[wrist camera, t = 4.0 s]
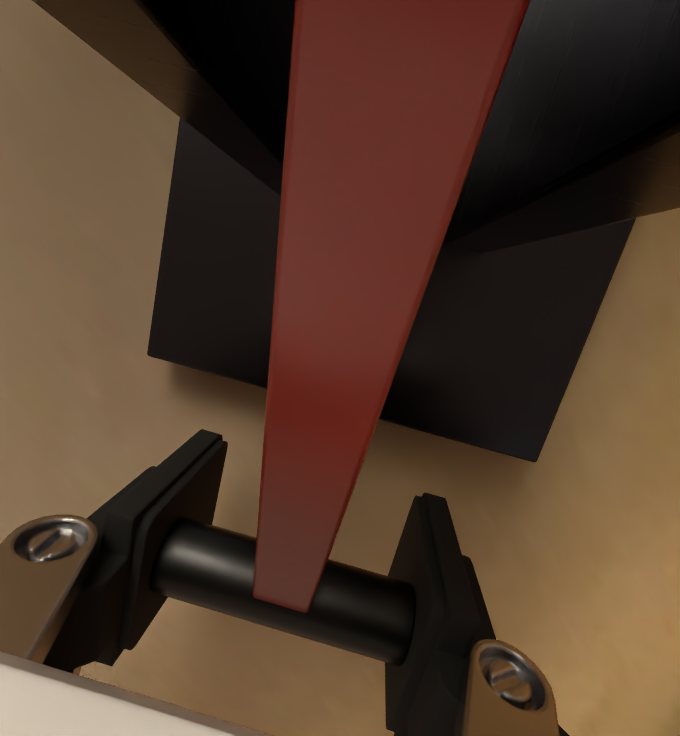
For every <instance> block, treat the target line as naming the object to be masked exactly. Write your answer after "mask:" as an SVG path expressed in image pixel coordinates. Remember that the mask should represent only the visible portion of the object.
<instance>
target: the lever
mask: <svg viewBox="0 0 680 736" xmlns="http://www.w3.org/2000/svg"><path fill="white" fill-rule="evenodd" d="M530 1H531V0H295V6H294V20H293V34H292V48H291V62H290V76H289V91H288V105H287V119H286V133H285V147H284V161H283V175H282V189H281V203H280V217H279V231H278V245H277V259H276V273H275V287H274V301H273V315H272V329H271V343H270V357H269V372H268V386H267V400H266V414H265V428H264V442H263V456H262V470H261V484H260V498H259V512H258V526H257V538H254V537H251V536H248V535H244V534H241V533H237V532H234V531H231V530H227V529H224V528H220V527H217V526H213V525H210V524H207V523H203V522H200V521H196V520H193V519H190V518H186V517H183V518H180V519H179V520H178V521H177V522H176V523H175V524H174V525H173V526H172V528H171V529H170V531H169V532H168V534H167V535H166V537H165V539H164V541H163V543H162V545H161V547H160V549H159V551H158V554H157V556H156V559H155V562H154V565H153V568H152V572H151V576H150V589H151V591H152V592H154V593H157V594H161V595H164V596H167V597H171V598H174V599H177V600H180V601H184V602H187V603H190V604H194V605H197V606H200V607H204V608H207V609H210V610H214V611H217V612H220V613H224V614H227V615H230V616H234V617H237V618H240V619H243V620H247V621H250V622H253V623H257V624H260V625H263V626H267V627H270V628H273V629H277V630H280V631H283V632H287V633H290V634H293V635H297V636H300V637H303V638H306V639H310V640H313V641H316V642H320V643H323V644H326V645H330V646H333V647H336V648H340V649H343V650H346V651H350V652H353V653H356V654H360V655H363V656H366V657H369V658H373V659H376V660H379V661H383V662H386V663H389V664H393V665H396V666H401V665H402V664H403V663H404V661H405V659H406V657H407V655H408V652H409V649H410V645H411V641H412V636H413V630H414V624H415V613H416V596H415V589H414V586H413V585H412V584H411V583H408V582H405V581H401V580H398V579H395V578H391V577H388V576H384V575H381V574H378V573H374V572H371V571H367V570H364V569H360V568H357V567H354V566H350V565H347V564H343V563H340V562H337V561H333V560H330V559H328V557H329V555H330V552H331V549H332V546H333V544H334V541H335V538H336V535H337V533H338V530H339V527H340V524H341V522H342V519H343V516H344V513H345V511H346V508H347V505H348V502H349V500H350V497H351V494H352V491H353V488H354V486H355V483H356V480H357V477H358V475H359V472H360V469H361V466H362V464H363V461H364V458H365V455H366V453H367V450H368V447H369V444H370V442H371V439H372V436H373V433H374V431H375V428H376V425H377V422H378V420H379V417H380V414H381V411H382V409H383V406H384V403H385V400H386V398H387V395H388V392H389V389H390V387H391V384H392V381H393V378H394V375H395V373H396V370H397V367H398V364H399V362H400V359H401V356H402V353H403V351H404V348H405V345H406V342H407V340H408V337H409V334H410V331H411V329H412V326H413V323H414V320H415V318H416V315H417V312H418V309H419V307H420V304H421V301H422V298H423V296H424V293H425V290H426V287H427V285H428V282H429V279H430V276H431V274H432V271H433V268H434V265H435V262H436V260H437V257H438V254H439V251H440V249H441V246H442V243H443V240H444V238H445V235H446V232H447V229H448V227H449V224H450V221H451V218H452V216H453V213H454V210H455V207H456V205H457V202H458V199H459V196H460V194H461V191H462V188H463V185H464V183H465V180H466V177H467V174H468V172H469V169H470V166H471V163H472V161H473V158H474V155H475V152H476V149H477V147H478V144H479V141H480V138H481V136H482V133H483V130H484V127H485V125H486V122H487V119H488V116H489V114H490V111H491V108H492V105H493V103H494V100H495V97H496V94H497V92H498V89H499V86H500V83H501V81H502V78H503V75H504V72H505V70H506V67H507V64H508V61H509V59H510V56H511V53H512V50H513V48H514V45H515V42H516V39H517V36H518V34H519V31H520V28H521V25H522V23H523V20H524V17H525V14H526V12H527V9H528V6H529V3H530Z"/></svg>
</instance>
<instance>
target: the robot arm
mask: <svg viewBox="0 0 680 736" xmlns="http://www.w3.org/2000/svg"><path fill="white" fill-rule="evenodd" d="M222 440H223V439H222V435H220V434H217V433H213V432H210V431H206V430H202V429H201V430H200V431H199V432H197V433H196V434H195V435H194V436H193V437H191V438H190V439H189V440H188V441H187V442H186V443H184V444H183V445H182V446H181V447H180V448H178V449H177V450H176V451H175V452H174V453H173V454H171V455H170V456H169V457H168V458H167V459H165V460H164V461H163V462H162V463H161V464H159V465H158V466H157V467H155V466H153V467H150V468H148V469H147V470H145V471H144V472H143V473H142V474H140V475H139V476H138V477H137V478H136V479H134V480H133V481H132V482H131V483H130V484H128V485H127V486H126V487H125V488H123V489H122V490H121V491H120V492H119V493H117V494H116V495H115V496H114V497H112V498H111V499H110V500H109V501H108V502H106V503H105V504H104V505H103V506H101V507H100V508H99V509H98V510H97V511H95V512H94V513H93V514H92V515H90V516H89V517H88V518H87V519H85V518H83V517H80V516H75V515H52V516H46V517H41V518H38V519H35V520H32V521H29V522H27V523H25V524H23V525H22V526H20V527H18V528H16V529H15V530H14V531H13V532H12V533H11V534H9V535H8V536H7V537H6V538H5V540H4V541H3V542H2V543H1V544H0V736H273V735H269V734H266V733H263V732H260V731H257V730H254V729H250V728H247V727H244V726H241V725H238V724H234V723H231V722H228V721H225V720H222V719H218V718H215V717H212V716H209V715H206V714H202V713H199V712H196V711H193V710H190V709H186V708H183V707H180V706H177V705H174V704H170V703H167V702H164V701H161V700H157V699H154V698H151V697H148V696H145V695H141V694H138V693H135V692H132V691H128V690H125V689H122V688H118V687H115V686H112V685H109V684H105V683H102V682H99V681H96V680H92V679H89V678H86V677H82V676H79V674H80V670H81V666H83V665H86V664H88V663H91V662H93V661H96V662H100V663H103V664H106V665H109V666H113V664H114V663H115V661H116V660H117V658H118V657H119V656H120V654H121V653H122V651H123V650H124V649H127V650H132V649H133V648H134V647H135V645H136V644H137V643H138V641H139V640H140V638H141V637H142V635H143V634H144V632H145V631H146V629H147V628H148V626H149V625H150V623H151V622H152V620H153V619H154V617H155V616H156V614H157V613H158V611H159V610H160V608H161V607H162V605H163V604H164V602H165V601H166V599H167V598H168V597H167V596H164V595H161V594H157V593H154V592H152V591H151V589H150V576H151V572H152V568H153V565H154V562H155V559H156V556H157V554H158V551H159V549H160V547H161V545H162V543H163V541H164V539H165V537H166V535H167V534H168V532H169V531H170V529H171V528H172V526H173V525H174V524H175V523H176V522H177V521H178V520H179V519H180V518H183V517H186V518H190V519H193V520H196V521H200V522H203V523H207V524H210V525H212V522H213V517H214V512H215V507H216V502H217V497H218V492H219V487H220V482H221V477H222V472H223V467H224V462H225V457H226V452H227V447H228V443H227V442H226V441H222ZM388 577H391V578H395V579H398V580H401V581H405V582H408V583H411V584H412V585H413V586H414V589H415V596H416V613H415V624H414V630H413V636H412V641H411V645H410V649H409V652H408V655H407V657H406V659H405V661H404V663H403V664H402V665H401V666H396V665H393V664H389V663H386V662H385V698H386V728H387V730H390V731H393V732H394V736H569V735H568V734H567V733H566V732H565V731H564V730H563V729H562V728H561V727H560V726H559V725H558V720H557V712H556V704H555V698H554V695H553V691H552V688H551V686H550V684H549V682H548V681H547V679H546V677H545V675H544V674H543V673H542V671H541V670H540V669H539V668H538V667H537V665H536V664H535V663H534V662H533V661H532V660H531V659H529V658H528V657H527V656H526V655H525V654H524V653H523V652H521V651H519V650H518V649H516V648H515V647H513V646H512V645H510V644H507V643H505V642H502V641H500V640H496V637H495V634H494V630H493V627H492V624H491V621H490V618H489V614H488V611H487V608H486V605H485V602H484V599H483V595H482V592H481V589H480V586H479V583H478V579H477V576H476V573H475V570H474V567H473V564H472V561H471V559H470V558H469V557H467V556H464V555H462V554H461V550H460V547H459V543H458V540H457V536H456V533H455V529H454V526H453V522H452V519H451V515H450V512H449V508H448V505H447V501H446V499H445V498H443V497H440V496H436V495H433V494H429V493H426V492H424V493H423V495H422V497H420V496H415V497H414V499H413V502H412V505H411V508H410V511H409V514H408V517H407V520H406V523H405V526H404V529H403V532H402V535H401V538H400V541H399V544H398V547H397V550H396V553H395V556H394V559H393V562H392V565H391V568H390V571H389V574H388Z"/></svg>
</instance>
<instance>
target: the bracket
mask: <svg viewBox="0 0 680 736" xmlns="http://www.w3.org/2000/svg"><path fill="white" fill-rule="evenodd" d="M32 1H34V2H35V3H36V4H37V5H39V6H40V7H41V8H42V9H44V10H45V11H46V12H48V13H49V14H50V15H51V16H53V17H54V18H55V19H56V20H58V21H59V22H60V23H61V24H63V25H64V26H65V27H67V28H68V29H69V30H70V31H72V32H73V33H74V34H75V35H77V36H78V37H79V38H80V39H82V40H83V41H84V42H86V43H87V44H88V45H89V46H91V47H92V48H93V49H94V50H96V51H97V52H98V53H99V54H101V55H102V56H103V57H105V58H106V59H107V60H108V61H110V62H111V63H112V64H113V65H115V66H116V67H117V68H118V69H120V70H121V71H122V72H124V73H125V74H126V75H127V76H129V77H130V78H131V79H132V80H134V81H135V82H136V83H137V84H139V85H140V86H141V87H142V88H144V89H145V90H146V91H148V92H149V93H150V94H151V95H153V96H154V97H155V98H156V99H158V100H159V101H160V102H161V103H163V104H164V105H165V106H167V107H168V108H169V109H170V110H172V111H173V112H174V113H175V114H177V115H178V116H179V117H180V122H179V129H178V136H177V143H176V151H175V158H174V165H173V172H172V179H171V187H170V194H169V201H168V208H167V215H166V223H165V230H164V237H163V244H162V251H161V259H160V266H159V273H158V280H157V287H156V295H155V302H154V309H153V316H152V323H151V330H150V338H149V345H148V352H147V354H148V356H151V357H154V358H158V359H162V360H165V361H169V362H172V363H176V364H180V365H183V366H187V367H190V368H194V369H198V370H201V371H205V372H209V373H212V374H216V375H219V376H223V377H227V378H230V379H234V380H238V381H241V382H245V383H248V384H252V385H256V386H259V387H263V388H266V389H267V386H268V372H269V357H270V343H271V329H272V315H273V301H274V287H275V273H276V259H277V245H278V231H279V217H280V203H281V189H282V175H283V161H284V147H285V133H286V119H287V105H288V91H289V76H290V62H291V48H292V34H293V20H294V6H295V0H32ZM676 208H680V0H531V1H530V3H529V6H528V9H527V12H526V14H525V17H524V20H523V23H522V25H521V28H520V31H519V34H518V36H517V39H516V42H515V45H514V48H513V50H512V53H511V56H510V59H509V61H508V64H507V67H506V70H505V72H504V75H503V78H502V81H501V83H500V86H499V89H498V92H497V94H496V97H495V100H494V103H493V105H492V108H491V111H490V114H489V116H488V119H487V122H486V125H485V127H484V130H483V133H482V136H481V138H480V141H479V144H478V147H477V149H476V152H475V155H474V158H473V161H472V163H471V166H470V169H469V172H468V174H467V177H466V180H465V183H464V185H463V188H462V191H461V194H460V196H459V199H458V202H457V205H456V207H455V210H454V213H453V216H452V218H451V221H450V224H449V227H448V229H447V232H446V235H445V238H444V240H443V243H442V246H441V249H440V251H439V254H438V257H437V260H436V262H435V265H434V268H433V271H432V274H431V276H430V279H429V282H428V285H427V287H426V290H425V293H424V296H423V298H422V301H421V304H420V307H419V309H418V312H417V315H416V318H415V320H414V323H413V326H412V329H411V331H410V334H409V337H408V340H407V342H406V345H405V348H404V351H403V353H402V356H401V359H400V362H399V364H398V367H397V370H396V373H395V375H394V378H393V381H392V384H391V387H390V389H389V392H388V395H387V398H386V400H385V403H384V406H383V409H382V411H381V414H380V417H379V420H382V421H386V422H390V423H393V424H397V425H400V426H404V427H408V428H411V429H415V430H419V431H422V432H426V433H429V434H433V435H437V436H440V437H444V438H447V439H451V440H455V441H458V442H462V443H466V444H469V445H473V446H476V447H480V448H484V449H487V450H491V451H495V452H498V453H502V454H505V455H509V456H513V457H516V458H520V459H523V460H527V461H531V462H536V461H537V460H538V457H539V455H540V452H541V450H542V447H543V445H544V442H545V440H546V438H547V435H548V433H549V430H550V428H551V425H552V423H553V420H554V418H555V416H556V413H557V411H558V408H559V406H560V403H561V401H562V398H563V396H564V394H565V391H566V389H567V386H568V384H569V381H570V379H571V376H572V374H573V372H574V369H575V367H576V364H577V362H578V359H579V357H580V354H581V352H582V349H583V347H584V345H585V342H586V340H587V337H588V335H589V332H590V330H591V327H592V325H593V323H594V320H595V318H596V315H597V313H598V310H599V308H600V305H601V303H602V301H603V298H604V296H605V293H606V291H607V288H608V286H609V283H610V281H611V279H612V276H613V274H614V271H615V269H616V266H617V264H618V261H619V259H620V257H621V254H622V252H623V249H624V247H625V244H626V242H627V239H628V237H629V234H630V232H631V230H632V227H633V225H634V222H635V220H636V218H637V217H642V216H646V215H650V214H655V213H659V212H663V211H668V210H672V209H676Z"/></svg>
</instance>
